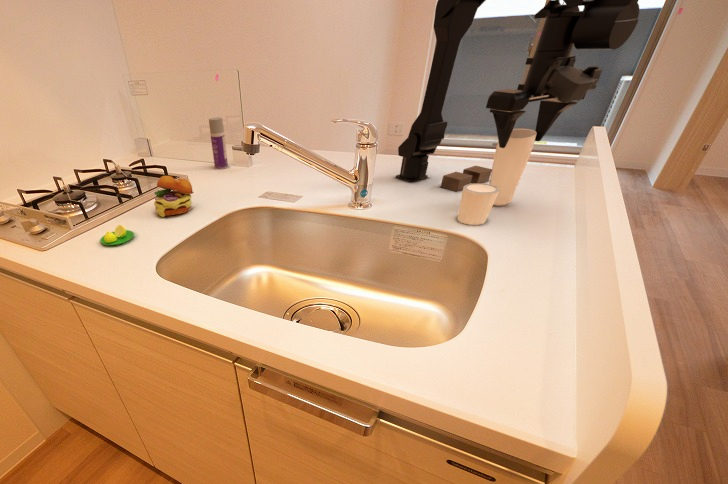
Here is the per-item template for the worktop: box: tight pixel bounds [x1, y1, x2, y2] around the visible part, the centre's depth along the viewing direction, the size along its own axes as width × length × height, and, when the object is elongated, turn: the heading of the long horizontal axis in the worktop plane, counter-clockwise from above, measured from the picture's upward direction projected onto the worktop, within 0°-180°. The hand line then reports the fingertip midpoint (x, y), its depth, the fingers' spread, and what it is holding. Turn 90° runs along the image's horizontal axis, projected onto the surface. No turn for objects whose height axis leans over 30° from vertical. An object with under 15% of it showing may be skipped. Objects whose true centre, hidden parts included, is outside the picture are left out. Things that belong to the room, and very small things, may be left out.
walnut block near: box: [440, 171, 472, 192], centre depth 97 cm, size 5×5×3 cm
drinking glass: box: [488, 128, 537, 207], centre depth 83 cm, size 7×7×15 cm
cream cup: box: [457, 182, 500, 226], centre depth 80 cm, size 7×7×7 cm
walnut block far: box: [462, 165, 492, 184], centre depth 100 cm, size 5×5×3 cm
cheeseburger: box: [153, 175, 195, 218], centre depth 98 cm, size 10×11×10 cm
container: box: [208, 116, 229, 170], centre depth 124 cm, size 5×5×15 cm
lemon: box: [99, 224, 135, 246], centre depth 87 cm, size 8×8×3 cm
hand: (519, 144), depth 76 cm, fingers open, 9 cm apart
